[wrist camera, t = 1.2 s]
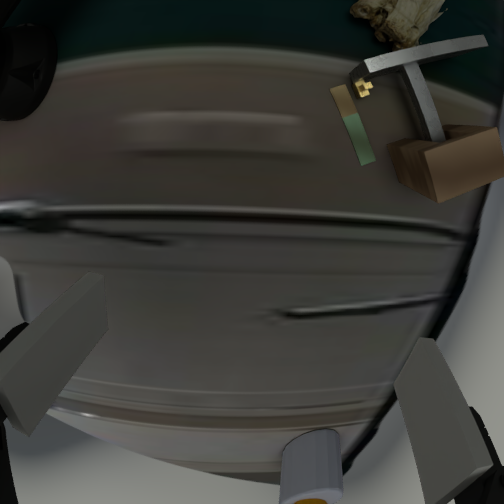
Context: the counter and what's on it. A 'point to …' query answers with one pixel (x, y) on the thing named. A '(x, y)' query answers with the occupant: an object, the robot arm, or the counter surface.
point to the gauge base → (432, 155)
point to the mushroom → (398, 19)
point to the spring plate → (418, 75)
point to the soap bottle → (312, 469)
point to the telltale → (361, 88)
